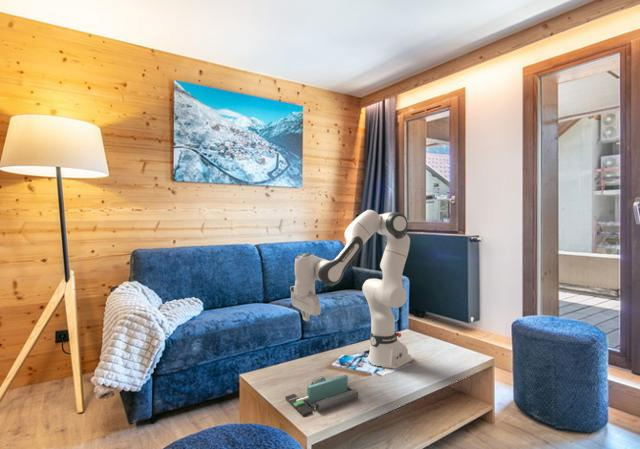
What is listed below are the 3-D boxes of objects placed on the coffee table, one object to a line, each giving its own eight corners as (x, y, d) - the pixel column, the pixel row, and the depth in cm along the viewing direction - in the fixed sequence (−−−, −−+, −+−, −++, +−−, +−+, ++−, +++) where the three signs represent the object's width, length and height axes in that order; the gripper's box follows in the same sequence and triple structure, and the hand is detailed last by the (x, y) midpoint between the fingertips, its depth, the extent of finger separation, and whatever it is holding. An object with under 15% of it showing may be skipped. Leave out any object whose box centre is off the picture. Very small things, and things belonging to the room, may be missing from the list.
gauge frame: (338, 382, 157) (338, 375, 156) (360, 398, 144) (360, 390, 144) (285, 399, 143) (285, 391, 143) (304, 418, 131) (304, 409, 130)
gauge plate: (345, 389, 150) (345, 374, 150) (347, 390, 149) (347, 376, 149) (295, 405, 138) (295, 389, 138) (297, 407, 137) (297, 391, 137)
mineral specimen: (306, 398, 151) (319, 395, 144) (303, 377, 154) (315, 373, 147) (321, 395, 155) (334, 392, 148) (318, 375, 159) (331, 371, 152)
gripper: (323, 293, 157) (324, 325, 158) (300, 284, 174) (301, 313, 175) (311, 295, 153) (312, 328, 154) (288, 286, 170) (289, 315, 171)
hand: (306, 320), depth 165 cm, fingers closed
